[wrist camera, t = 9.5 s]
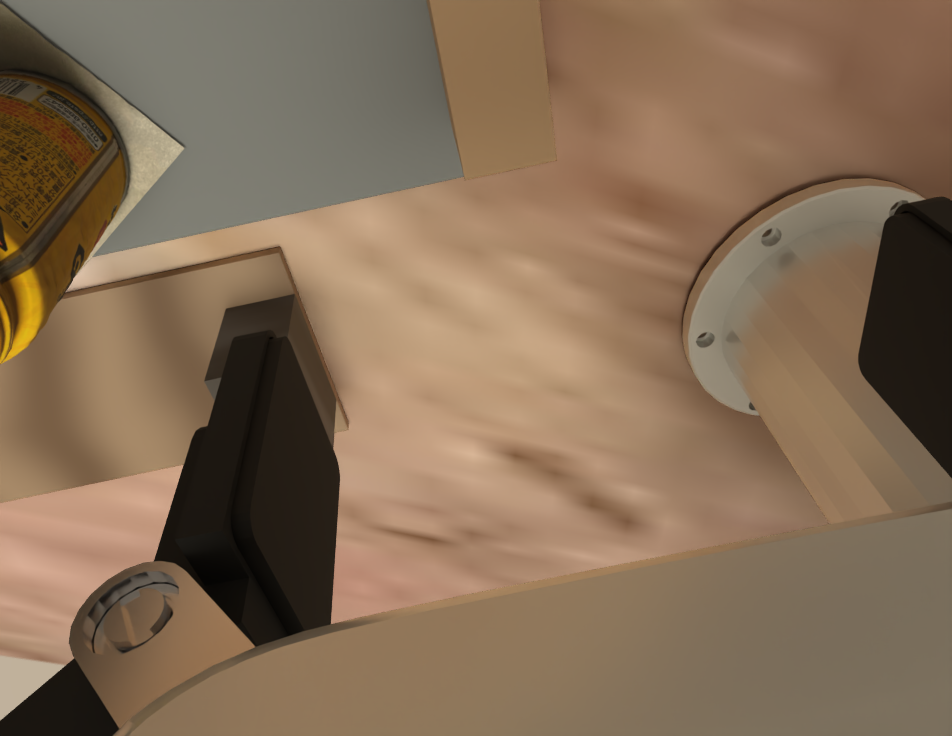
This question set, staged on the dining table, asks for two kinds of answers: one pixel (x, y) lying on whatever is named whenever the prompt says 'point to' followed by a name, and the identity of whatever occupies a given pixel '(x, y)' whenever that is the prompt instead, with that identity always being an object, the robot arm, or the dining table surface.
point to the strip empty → (143, 371)
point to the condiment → (61, 174)
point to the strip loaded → (309, 98)
